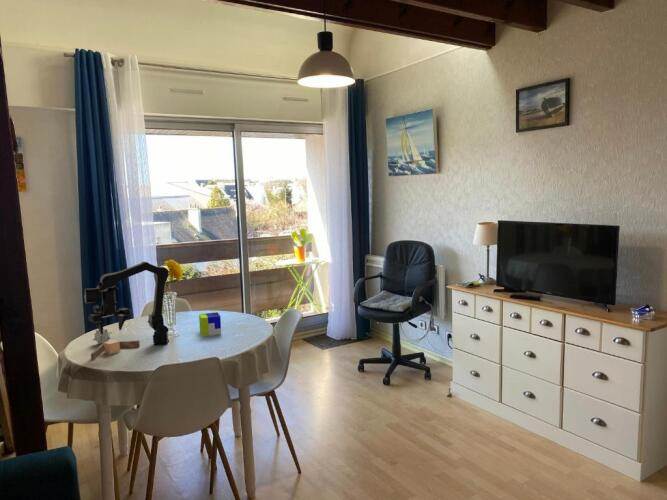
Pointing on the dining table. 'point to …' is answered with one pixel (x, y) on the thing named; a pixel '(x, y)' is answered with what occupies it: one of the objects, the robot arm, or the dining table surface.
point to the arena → (122, 345)
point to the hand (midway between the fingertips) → (111, 332)
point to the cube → (112, 346)
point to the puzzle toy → (210, 324)
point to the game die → (102, 336)
